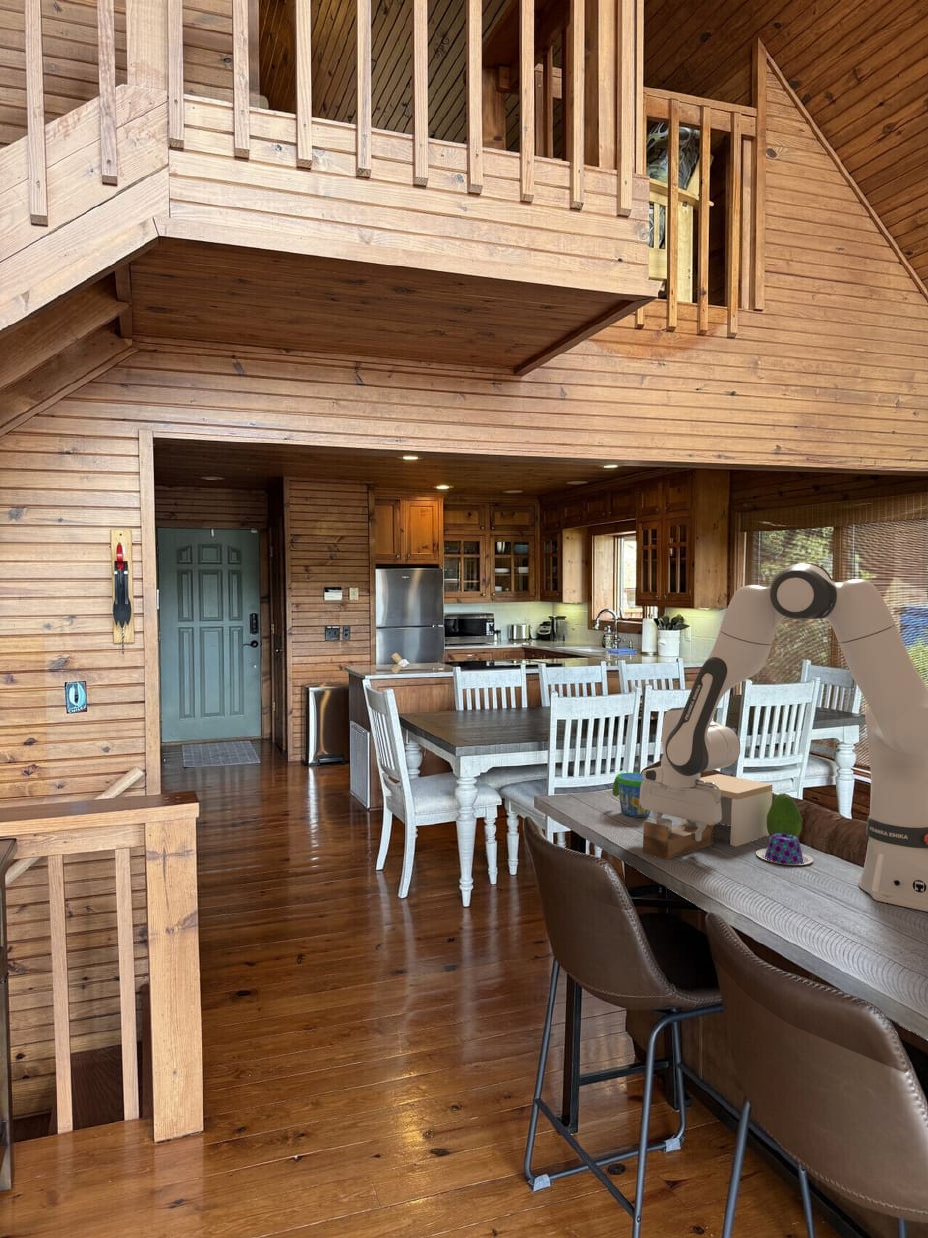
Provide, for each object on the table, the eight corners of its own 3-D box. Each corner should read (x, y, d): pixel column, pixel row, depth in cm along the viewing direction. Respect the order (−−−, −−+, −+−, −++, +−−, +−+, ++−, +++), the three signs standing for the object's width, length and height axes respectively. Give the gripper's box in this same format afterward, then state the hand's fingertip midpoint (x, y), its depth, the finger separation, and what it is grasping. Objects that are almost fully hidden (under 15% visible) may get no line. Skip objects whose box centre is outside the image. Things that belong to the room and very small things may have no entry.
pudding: (824, 867, 181) (825, 843, 181) (772, 869, 179) (773, 844, 179) (794, 851, 193) (795, 828, 193) (745, 852, 191) (746, 829, 191)
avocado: (767, 846, 195) (768, 795, 195) (764, 837, 203) (765, 788, 202) (803, 849, 193) (805, 798, 193) (799, 840, 201) (801, 791, 200)
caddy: (713, 844, 196) (714, 812, 196) (665, 859, 183) (666, 825, 183) (691, 838, 200) (692, 807, 200) (642, 853, 188) (643, 820, 188)
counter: (770, 835, 205) (772, 784, 205) (736, 846, 194) (737, 793, 194) (716, 821, 216) (718, 774, 216) (681, 832, 206) (682, 781, 205)
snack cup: (670, 819, 217) (672, 780, 217) (639, 823, 212) (640, 784, 212) (632, 805, 231) (633, 769, 231) (601, 809, 226) (602, 772, 226)
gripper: (728, 782, 186) (726, 844, 186) (652, 767, 201) (650, 824, 201) (712, 786, 182) (710, 849, 182) (636, 770, 197) (634, 828, 197)
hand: (678, 835), depth 192 cm, fingers open, 8 cm apart
